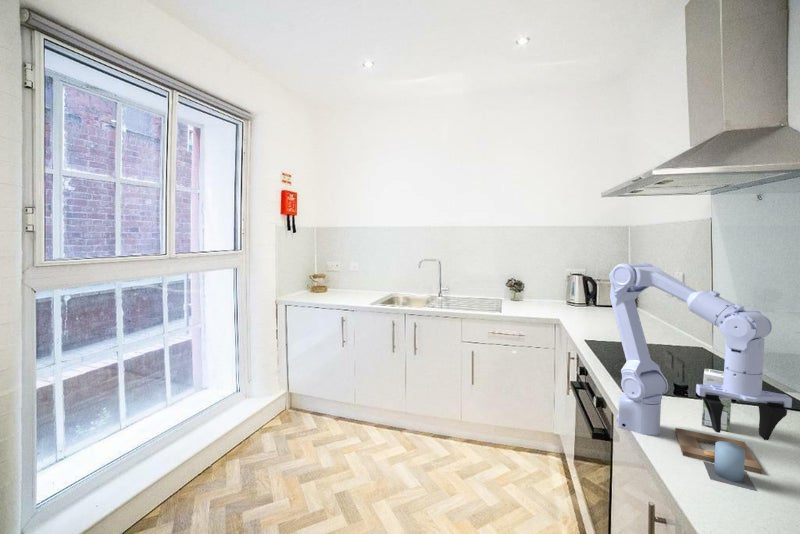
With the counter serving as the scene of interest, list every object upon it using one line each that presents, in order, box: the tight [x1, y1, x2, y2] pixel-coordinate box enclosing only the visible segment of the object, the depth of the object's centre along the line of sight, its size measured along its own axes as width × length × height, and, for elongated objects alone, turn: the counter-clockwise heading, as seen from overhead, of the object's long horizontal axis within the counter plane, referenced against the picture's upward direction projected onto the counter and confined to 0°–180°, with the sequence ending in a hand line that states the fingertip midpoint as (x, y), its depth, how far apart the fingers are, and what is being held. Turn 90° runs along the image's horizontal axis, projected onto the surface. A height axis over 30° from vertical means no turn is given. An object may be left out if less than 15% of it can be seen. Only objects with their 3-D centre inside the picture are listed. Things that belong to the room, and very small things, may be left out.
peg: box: [713, 441, 745, 482], centre depth 74 cm, size 4×4×6 cm
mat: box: [702, 460, 758, 492], centre depth 74 cm, size 7×7×1 cm
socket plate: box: [674, 427, 763, 475], centre depth 83 cm, size 13×12×2 cm
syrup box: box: [701, 368, 732, 433], centre depth 96 cm, size 6×6×14 cm
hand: (739, 434), depth 74 cm, fingers open, 7 cm apart
